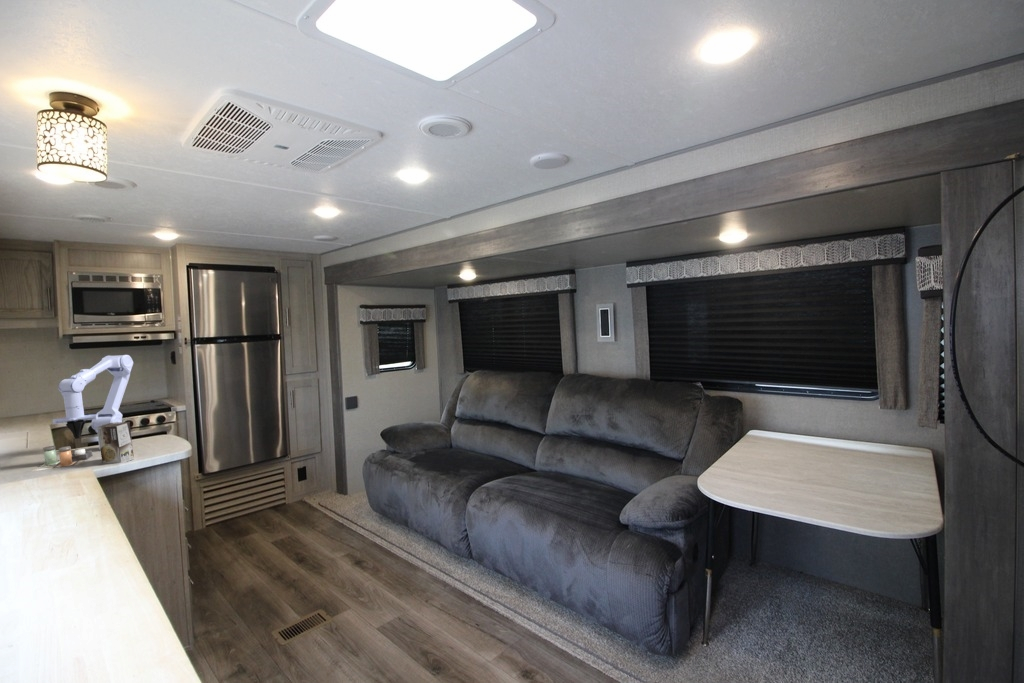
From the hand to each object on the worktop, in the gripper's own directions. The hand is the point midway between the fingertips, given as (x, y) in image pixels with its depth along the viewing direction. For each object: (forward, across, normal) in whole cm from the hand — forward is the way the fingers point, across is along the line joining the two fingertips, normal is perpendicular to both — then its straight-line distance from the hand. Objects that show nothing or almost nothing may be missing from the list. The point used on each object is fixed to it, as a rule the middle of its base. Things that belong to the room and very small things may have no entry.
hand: (78, 438), depth 203 cm
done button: (+9, 0, 0) cm, 9 cm away
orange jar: (+9, -2, -6) cm, 11 cm away
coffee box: (+10, +16, -11) cm, 22 cm away
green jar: (+9, -9, -1) cm, 13 cm away
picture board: (+10, -5, -4) cm, 12 cm away
